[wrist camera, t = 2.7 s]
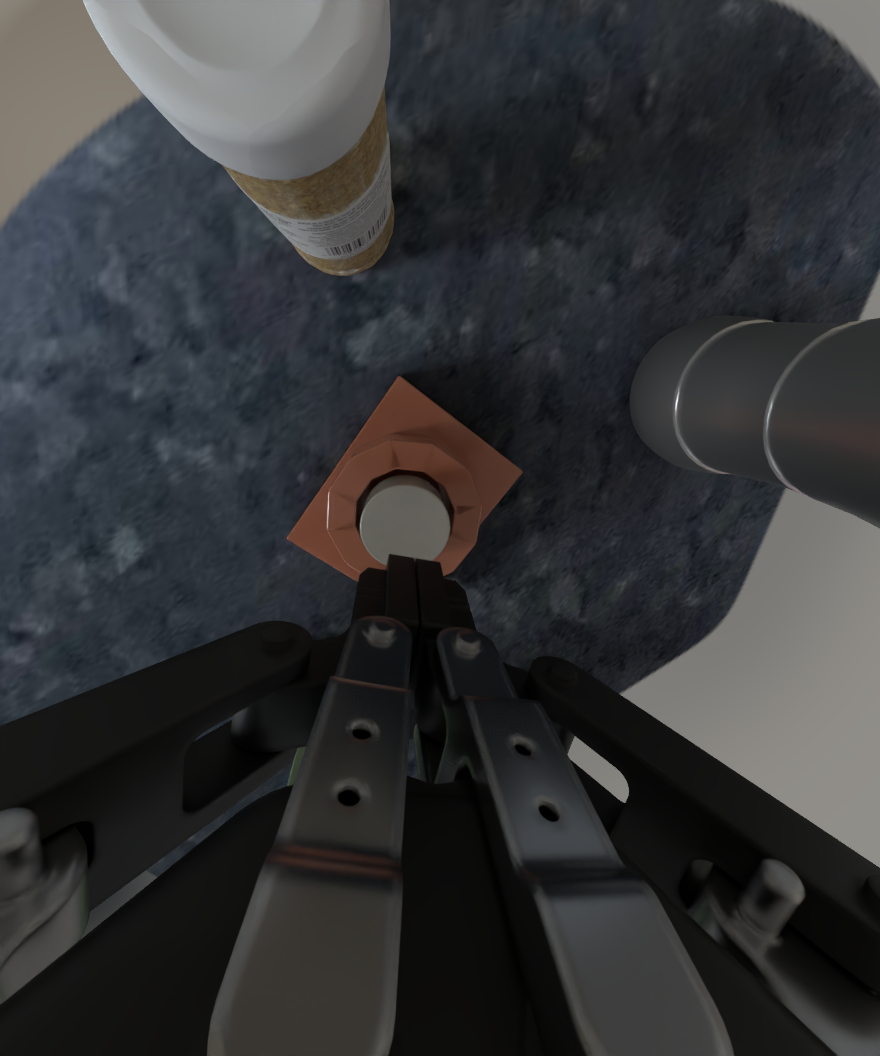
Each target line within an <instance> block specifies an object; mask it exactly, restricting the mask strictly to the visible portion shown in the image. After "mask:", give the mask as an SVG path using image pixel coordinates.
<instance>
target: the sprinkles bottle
mask: <svg viewBox="0 0 880 1056" xmlns="http://www.w3.org/2000/svg"><path fill="white" fill-rule="evenodd" d="M83 2H84V4H85V7H86V9H87V11H88V13H89V15H90V17H91V19H92V21H93V23H94V25H95V27H96V29H97V30H98V32H99V34H100V36H101V37H102V39H103V41H104V42H105V44H106V46H107V47H108V49H109V51H110V52H111V54H112V55H113V57H114V58H115V59H116V61H117V62H118V63H119V64H120V66H121V67H122V69H123V70H124V71H125V73H126V74H127V75H128V76H129V77H130V79H131V80H132V81H133V82H134V83H135V85H136V86H137V87H138V88H139V89H140V90H141V92H142V93H143V94H144V95H145V96H146V97H147V98H148V99H149V100H150V102H151V103H152V104H153V105H154V106H155V107H156V108H157V109H158V110H159V111H160V113H161V114H162V115H163V116H164V117H165V118H166V119H167V120H168V121H169V122H170V123H171V124H172V125H173V126H174V127H175V128H176V129H177V130H178V131H179V132H180V133H181V134H182V135H183V136H184V137H185V138H186V139H187V140H188V141H189V142H190V143H191V144H193V145H194V146H195V147H196V148H197V149H199V150H200V151H201V152H203V153H204V154H205V155H207V156H208V157H210V158H212V159H213V160H215V161H217V162H219V163H220V164H222V166H223V167H224V168H225V169H226V170H227V172H228V173H229V174H230V176H231V177H232V179H233V180H234V181H235V182H236V184H237V185H238V186H239V187H240V188H241V190H242V191H243V192H244V193H245V194H246V195H247V196H248V197H249V198H250V199H251V200H252V201H253V202H254V203H255V204H256V205H257V206H258V208H259V209H260V210H261V211H262V212H263V213H264V214H265V215H266V216H267V218H268V219H269V220H270V221H271V222H272V223H273V224H274V225H275V226H276V227H277V228H278V229H279V231H280V232H281V233H282V234H283V235H284V236H285V237H286V238H287V239H288V240H289V241H290V242H291V243H292V244H293V246H294V247H295V249H296V250H297V252H298V253H299V254H300V255H301V256H302V257H303V258H304V259H305V260H306V261H307V262H308V263H309V264H311V265H313V266H314V267H316V268H317V269H319V270H321V271H323V272H325V273H328V274H332V275H338V276H350V275H353V274H356V273H361V272H363V271H364V270H365V269H368V268H370V267H372V266H373V265H374V264H375V263H376V262H377V261H378V260H379V259H380V258H381V256H382V255H383V254H384V252H385V251H386V249H387V247H388V244H389V241H390V238H391V236H392V234H393V226H394V205H393V200H392V198H391V167H390V143H389V134H388V128H387V115H386V103H385V89H384V84H385V79H386V75H387V70H388V64H389V58H390V38H391V35H390V4H389V0H83Z"/></svg>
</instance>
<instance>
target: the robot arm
mask: <svg viewBox="0 0 880 1056" xmlns="http://www.w3.org/2000/svg"><path fill="white" fill-rule="evenodd" d="M411 709H415V720H416V725H415V729H414V734H413V737H414V745H415V753H416V760H417V768H418V775H419V780H418V779H415V778H412V777H409V776H407V764H408V749H409V735H410V720H411ZM231 716H232V720H231V721H229V722H227V723H226V724H224V725H222V726H220V727H219V728H217V729H215V730H213V731H212V732H210V733H208V734H206V735H205V736H203V737H201V738H199V739H198V740H196V741H194V740H195V739H196V738H197V737H198V736H199V735H201V734H202V733H203V732H205V731H206V730H208V729H210V728H211V727H213V726H215V725H217V724H219V723H220V722H222V721H224V720H226V719H227V718H229V717H231ZM574 736H576V737H577V738H579V739H580V740H581V741H582V742H584V743H585V744H586V745H587V746H589V747H590V748H591V749H593V750H594V751H595V752H596V753H598V754H599V755H600V756H601V757H603V758H604V759H606V760H607V761H608V762H609V763H610V764H612V765H613V766H614V767H616V768H617V769H618V770H619V771H620V772H621V773H622V774H623V776H624V777H625V779H626V781H627V783H628V787H629V796H628V798H627V801H626V803H623V802H621V801H620V800H618V799H617V798H616V797H615V796H614V795H612V794H611V793H610V792H609V791H608V790H606V789H605V788H604V787H603V786H602V785H600V784H599V783H598V782H597V781H596V780H594V779H593V778H592V777H591V776H590V775H588V774H587V773H586V772H585V771H584V770H582V769H581V768H580V767H579V766H577V765H576V764H575V763H574V762H573V761H571V760H570V759H569V757H568V755H567V754H568V751H569V749H570V746H571V744H572V741H573V739H574ZM193 741H194V742H193ZM300 747H306V749H305V752H304V755H303V758H302V761H301V764H300V767H299V770H298V773H297V776H296V779H295V782H294V784H293V785H289V786H286V787H283V788H281V789H278V790H275V791H273V792H271V793H269V794H267V795H265V796H263V797H261V798H259V799H257V800H256V801H254V802H252V803H251V804H249V805H248V806H246V807H245V808H243V809H242V810H241V811H239V812H238V813H237V814H235V815H234V816H233V817H232V818H230V819H229V820H228V821H227V822H225V823H224V824H223V825H222V826H221V827H219V828H218V829H217V830H216V831H214V832H213V833H212V834H211V835H209V836H208V837H207V838H206V839H204V840H203V841H202V842H201V843H200V844H198V845H197V846H196V847H195V848H193V849H192V850H191V851H190V852H188V853H187V854H186V855H185V856H183V857H182V858H181V859H180V860H179V861H177V862H176V863H175V864H174V865H172V866H171V867H170V868H169V869H167V870H166V871H165V872H164V873H162V874H161V875H160V876H159V877H157V878H156V879H155V880H154V881H153V882H151V883H150V884H149V885H148V886H146V887H145V888H144V889H143V890H142V891H140V892H139V893H138V894H136V895H135V896H134V897H133V898H132V899H130V900H129V901H128V902H127V903H125V904H124V905H123V906H122V907H120V908H119V909H118V910H117V911H115V912H114V913H113V914H112V915H111V916H109V917H108V918H107V919H106V920H104V921H103V922H102V923H101V924H100V925H98V926H97V927H96V928H94V929H93V930H92V931H91V932H89V933H88V934H87V935H86V936H85V937H83V938H82V939H81V937H82V935H83V933H84V930H85V928H86V926H87V923H88V919H89V914H90V911H91V910H93V909H94V908H95V907H97V906H98V905H99V904H101V903H102V902H103V901H105V900H106V899H107V898H109V897H110V896H112V895H113V894H114V893H116V892H117V891H118V890H120V889H121V888H122V887H123V886H125V885H126V884H128V883H129V882H130V881H132V880H133V879H134V878H136V877H137V876H138V875H140V874H141V873H143V872H144V871H145V870H147V869H148V868H149V867H151V866H152V865H153V864H155V863H156V862H157V861H159V860H160V859H161V858H163V857H164V856H165V855H167V854H168V853H170V852H171V851H172V850H174V849H175V848H176V847H178V846H179V845H180V844H182V843H183V842H184V841H186V840H187V839H188V838H190V837H191V836H192V835H194V834H195V833H196V832H198V831H199V830H201V829H202V828H203V827H205V826H206V825H207V824H209V823H210V822H211V821H213V820H214V819H215V818H217V817H218V816H219V815H221V814H222V813H223V812H225V811H226V810H227V809H229V808H230V807H232V806H233V805H234V804H236V803H237V802H238V801H240V800H241V799H242V798H244V797H245V796H246V795H248V794H249V793H250V792H252V791H253V790H254V789H256V788H257V787H258V786H260V785H261V784H263V783H264V782H265V781H267V780H268V779H269V778H271V777H272V776H273V775H275V774H276V773H277V772H279V771H280V770H281V769H283V768H284V767H285V766H287V765H288V764H289V763H290V762H291V761H292V759H293V758H294V756H295V755H296V752H297V748H300ZM80 939H81V940H80ZM79 940H80V941H79ZM0 1056H880V868H879V867H878V866H876V865H875V864H873V863H872V862H870V861H869V860H867V859H866V858H864V857H863V856H861V855H859V854H858V853H857V852H855V851H854V850H852V849H851V848H849V847H847V846H846V845H845V844H843V843H841V842H840V841H838V840H837V839H835V838H834V837H833V836H831V835H830V834H828V833H827V832H825V831H823V830H822V829H821V828H819V827H817V826H816V825H815V824H813V823H812V822H810V821H809V820H807V819H806V818H804V817H803V816H801V815H799V814H798V813H796V812H795V811H794V810H792V809H791V808H789V807H787V806H786V805H785V804H783V803H782V802H780V801H779V800H777V799H776V798H774V797H773V796H771V795H770V794H768V793H767V792H765V791H763V790H762V789H761V788H759V787H758V786H756V785H755V784H753V783H752V782H750V781H749V780H747V779H746V778H744V777H743V776H741V775H740V774H738V773H737V772H735V771H734V770H732V769H730V768H729V767H728V766H726V765H725V764H723V763H722V762H720V761H718V760H717V759H716V758H714V757H713V756H711V755H710V754H708V753H707V752H705V751H704V750H702V749H701V748H699V747H697V746H696V745H695V744H693V743H692V742H690V741H689V740H687V739H686V738H684V737H683V736H681V735H679V734H678V733H677V732H675V731H674V730H672V729H671V728H669V727H667V726H666V725H665V724H663V723H662V722H660V721H659V720H657V719H656V718H654V717H652V716H651V715H650V714H648V713H647V712H645V711H644V710H642V709H641V708H639V707H638V706H636V705H635V704H633V703H632V702H630V701H629V700H627V699H626V698H624V697H623V696H621V695H620V694H618V693H617V692H615V691H614V690H612V689H611V688H609V687H608V686H606V685H605V684H603V683H602V682H600V681H599V680H597V679H596V678H594V677H593V676H591V675H590V674H588V673H587V672H585V671H584V670H582V669H581V668H579V667H578V666H576V665H574V664H573V663H571V662H569V661H566V660H564V659H560V658H557V657H551V656H543V657H538V658H536V659H535V660H533V662H532V664H531V666H530V669H529V671H526V670H523V669H520V668H517V667H514V666H511V665H508V664H506V663H503V662H502V660H501V658H500V656H499V653H498V651H497V649H496V647H495V645H494V643H493V642H492V641H491V640H490V639H489V638H488V637H486V636H485V635H483V634H481V633H479V632H477V631H476V628H475V624H474V621H473V617H472V613H471V611H470V606H469V603H468V599H467V596H466V592H465V590H464V589H463V588H462V587H461V586H460V585H459V584H458V583H457V582H456V581H453V580H447V579H444V577H443V572H442V567H441V563H440V562H437V561H431V560H425V559H418V558H415V561H414V558H413V557H407V556H400V555H394V554H389V556H388V561H387V566H386V570H383V569H377V568H370V567H368V568H367V569H366V570H364V571H363V572H362V573H361V574H360V575H359V581H358V586H357V592H356V598H355V603H354V609H353V614H352V620H351V624H350V627H349V628H348V630H347V631H346V632H344V633H343V634H341V635H339V636H337V637H334V638H331V639H327V640H318V641H312V637H311V635H310V634H309V632H308V631H307V630H305V629H304V628H302V627H301V626H299V625H296V624H293V623H290V622H284V621H268V622H262V623H258V624H255V625H252V626H250V627H247V628H245V629H242V630H240V631H237V632H235V633H232V634H230V635H227V636H225V637H222V638H220V639H217V640H215V641H212V642H210V643H207V644H205V645H202V646H200V647H197V648H195V649H192V650H190V651H187V652H185V653H182V654H180V655H177V656H175V657H172V658H170V659H167V660H164V661H162V662H159V663H157V664H154V665H152V666H149V667H147V668H144V669H142V670H139V671H137V672H134V673H132V674H129V675H127V676H124V677H122V678H119V679H117V680H114V681H112V682H109V683H107V684H104V685H102V686H99V687H97V688H94V689H92V690H89V691H87V692H84V693H82V694H79V695H77V696H74V697H72V698H69V699H67V700H64V701H62V702H59V703H57V704H54V705H52V706H49V707H47V708H44V709H42V710H39V711H37V712H34V713H32V714H29V715H27V716H24V717H22V718H19V719H17V720H14V721H12V722H9V723H7V724H4V725H2V726H0Z"/></svg>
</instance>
